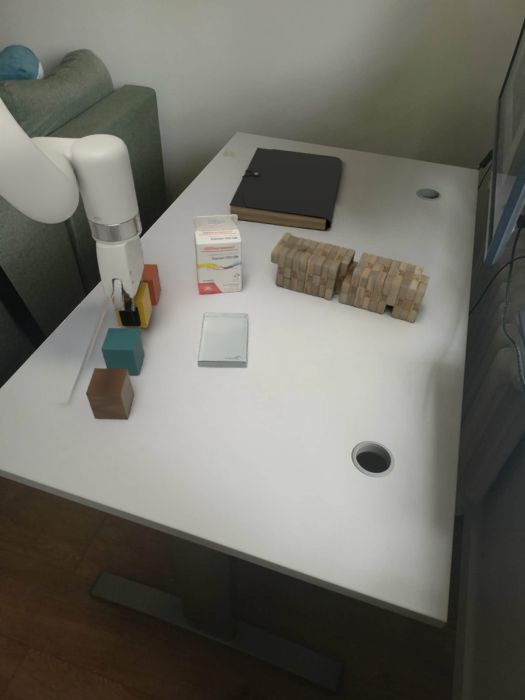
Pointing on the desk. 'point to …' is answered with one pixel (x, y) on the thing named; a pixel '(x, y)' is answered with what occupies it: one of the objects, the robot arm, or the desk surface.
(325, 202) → the black book
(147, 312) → the yellow block
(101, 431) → the desk surface
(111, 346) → the teal block
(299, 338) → the desk surface
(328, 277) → the block tower
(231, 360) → the hard drive
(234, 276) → the ink cartridge box
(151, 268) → the terracotta block
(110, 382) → the walnut block
